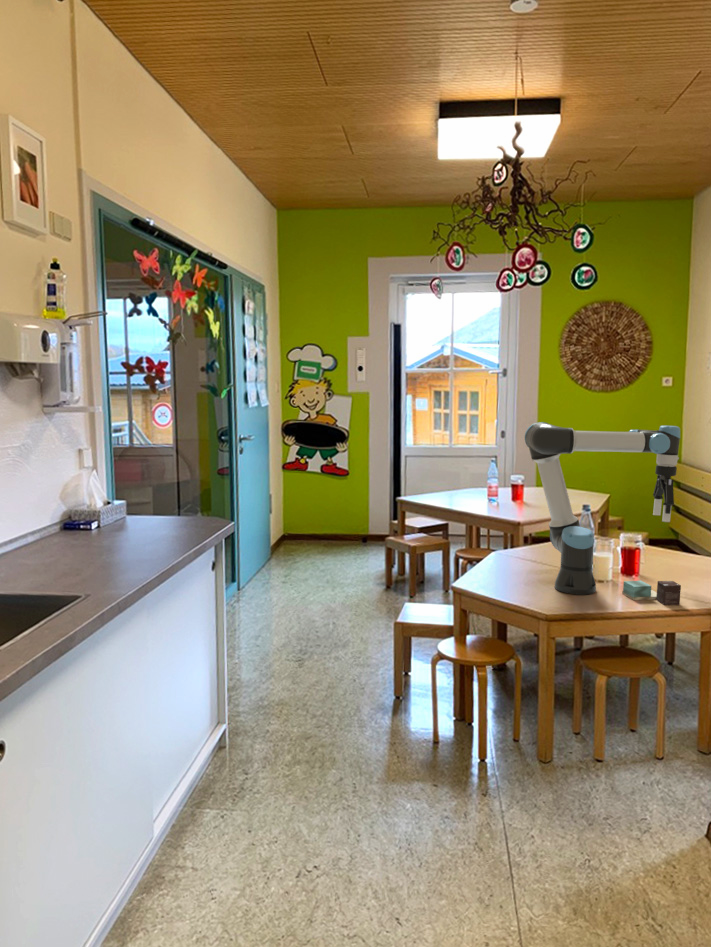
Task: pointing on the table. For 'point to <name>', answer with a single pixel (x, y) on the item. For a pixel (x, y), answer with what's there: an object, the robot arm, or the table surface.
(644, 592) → the teal and cream block
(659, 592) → the box
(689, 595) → the table surface
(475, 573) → the table surface
